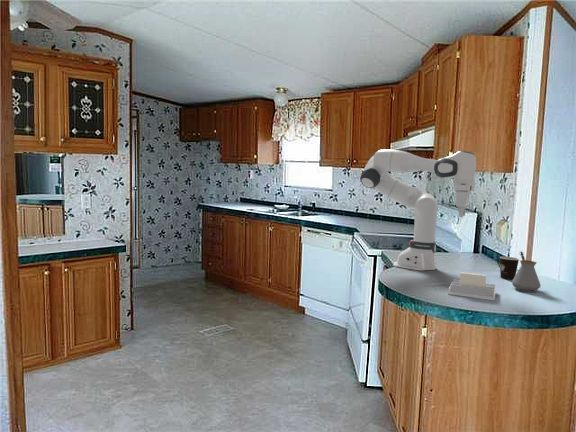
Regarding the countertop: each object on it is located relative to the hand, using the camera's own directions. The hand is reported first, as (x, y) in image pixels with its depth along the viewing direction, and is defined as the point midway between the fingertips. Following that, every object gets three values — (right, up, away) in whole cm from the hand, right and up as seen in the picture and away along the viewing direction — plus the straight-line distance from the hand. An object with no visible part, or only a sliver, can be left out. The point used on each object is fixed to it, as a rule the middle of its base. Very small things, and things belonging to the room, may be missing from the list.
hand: (461, 216), depth 217 cm
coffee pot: (+27, -33, -2) cm, 42 cm away
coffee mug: (+29, -31, +17) cm, 45 cm away
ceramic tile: (-3, -32, -19) cm, 37 cm away
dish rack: (-2, -33, -17) cm, 37 cm away
